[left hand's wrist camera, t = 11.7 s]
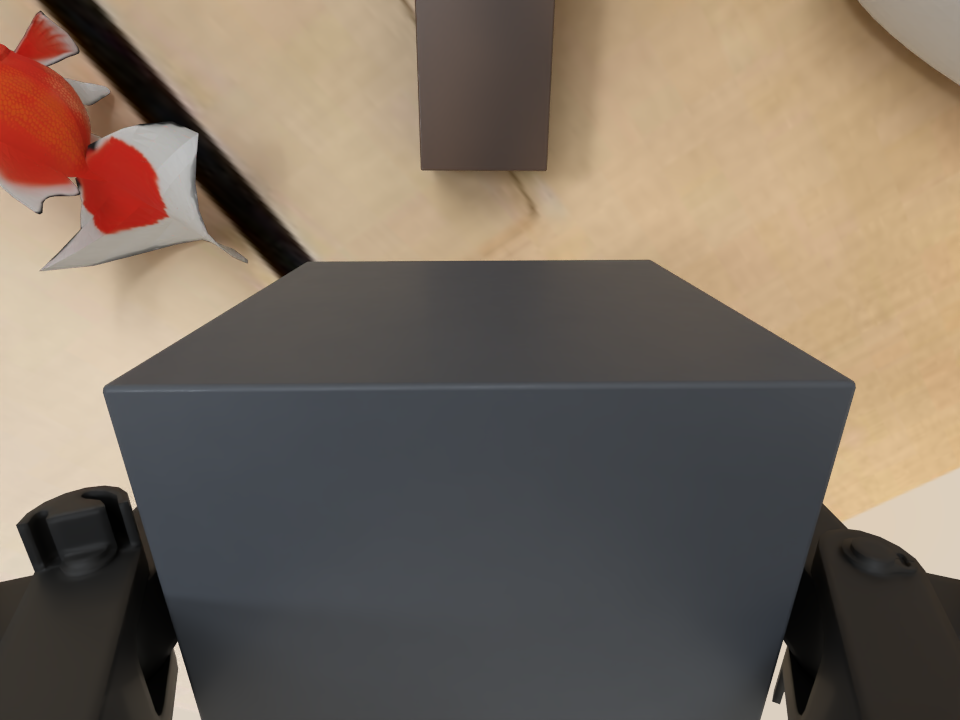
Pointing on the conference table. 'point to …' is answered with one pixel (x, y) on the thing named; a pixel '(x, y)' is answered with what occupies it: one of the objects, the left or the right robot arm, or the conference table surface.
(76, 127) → the fish
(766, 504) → the grey block
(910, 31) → the projector
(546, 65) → the long brown block
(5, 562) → the conference table surface
